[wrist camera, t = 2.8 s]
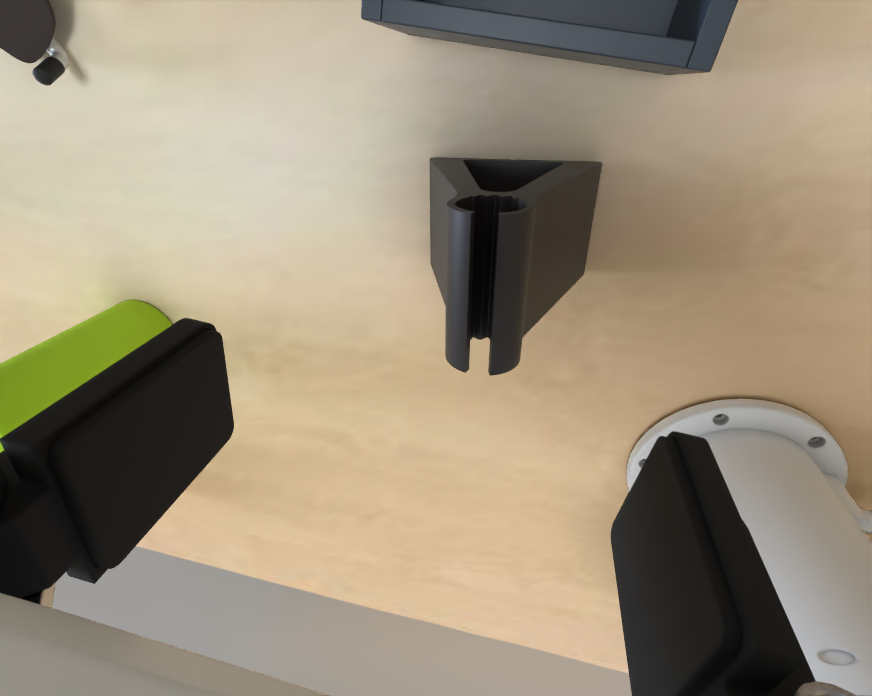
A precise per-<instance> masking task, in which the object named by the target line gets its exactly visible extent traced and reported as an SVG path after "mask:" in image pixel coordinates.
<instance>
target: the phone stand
mask: <svg viewBox="0 0 872 696" xmlns="http://www.w3.org/2000/svg"><path fill="white" fill-rule="evenodd" d="M601 166H602V163H601V162H583V161H545V160H508V159H470V158H430V237H431V266H432V269H433V271H434V274H435V277H436V280H437V283H438V286H439V289H440V291H441V294H442V297H443V300H444V303H445V306H446V350H445V356H446V359H447V361H448V362H449V364H450V365H452V366H453V367H454V368H456V369H458V370H460V371H462V372H465V373H466V372H467V371H468V369H469V353H470V340H471V339H472V338H473V337H474V338H477V339H480V340H481V339H484V338H486V337H488V338H489V339H490V353H489V369H488V372H489V375H498V374H502V373H505V372H508V371H510V370H512V369H513V368H515V367H516V366H517V365H518V363H519V361H520V355H521V345H522V338H523V337H524V335H525V334H526V333H527V332H528V331H529V330H530V329H531V328H532V327H533V326H534V325H535V324H536V323H537V322H538V321H539V320H540V319H541V318H542V317H543V316H544V315H545V314H546V313H547V312H548V311H549V310H550V309H551V308H552V307H553V305H554V304H555V303H556V302H557V301H558V300H559V299H560V298H561V297H562V296H563V295H564V294H565V293H566V292H567V291H568V290H569V289H570V288H571V287H572V286H573V285H574V284H575V283H576V282H577V281H578V280H579V279H580V278H581V277H582V276H583V275H584V269H585V263H586V257H587V251H588V245H589V239H590V233H591V227H592V221H593V215H594V209H595V203H596V197H597V190H598V184H599V178H600V172H601Z"/></svg>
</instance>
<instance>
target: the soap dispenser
mask: <svg viewBox="0 0 872 696" xmlns="http://www.w3.org/2000/svg"><path fill="white" fill-rule="evenodd" d="M170 326H172V323H171V322H170V321H169V319H168V318H167V317H166V316H165V315H164V314H163V313H161V312H160V311H159V310H158V309H156V308H155V307H153V306H151V305H149V304H147V303H145V302H142V301H137V300H127V301H124V302H121V303H119V304H117V305H115V306H113V307H111V308H109V309H107V310H105V311H103V312H102V313H100V314H98V315H96V316H94V317H92V318H90V319H88V320H86V321H84V322H82V323H80V324H78V325H76V326H74V327H72V328H70V329H68V330H66V331H64V332H62V333H60V334H58V335H56V336H54V337H52V338H50V339H48V340H46V341H44V342H42V343H40V344H38V345H36V346H34V347H32V348H30V349H28V350H26V351H24V352H22V353H21V354H19V355H17V356H15V357H13V358H11V359H9V360H7V361H5V362H3V363H1V364H0V438H2V437H3V436H5V435H6V434H8V433H9V432H11V431H12V430H14V429H15V428H17V427H19V426H20V425H22V424H23V423H25V422H26V421H28V420H29V419H31V418H32V417H34V416H35V415H37V414H38V413H40V412H41V411H43V410H44V409H46V408H47V407H49V406H50V405H52V404H53V403H55V402H56V401H58V400H59V399H61V398H62V397H64V396H65V395H67V394H69V393H70V392H72V391H73V390H75V389H76V388H78V387H79V386H81V385H82V384H84V383H85V382H87V381H88V380H90V379H91V378H93V377H94V376H96V375H97V374H99V373H100V372H102V371H103V370H105V369H106V368H108V367H109V366H111V365H112V364H114V363H116V362H117V361H119V360H120V359H122V358H123V357H125V356H126V355H128V354H129V353H131V352H132V351H134V350H135V349H137V348H138V347H140V346H141V345H143V344H144V343H146V342H147V341H149V340H150V339H152V338H153V337H155V336H156V335H158V334H159V333H161V332H162V331H164V330H166V329H167V328H169V327H170ZM2 451H4V448H3V446H2V444H1V442H0V453H1V452H2Z"/></svg>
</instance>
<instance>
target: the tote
mask: <svg viewBox="0 0 872 696" xmlns="http://www.w3.org/2000/svg"><path fill="white" fill-rule="evenodd" d="M737 2H738V0H362V10H361V18H362V19H363V20H366V21H369V22H372V23H375V24H378V25H381V26H384V27H387V28H390V29H393V30H396V31H399V32H402V33H405V34H408V35H414V36H420V37H427V38H433V39H440V40H446V41H452V42H459V43H465V44H472V45H478V46H485V47H491V48H498V49H504V50H511V51H517V52H524V53H530V54H536V55H543V56H549V57H556V58H562V59H569V60H575V61H582V62H588V63H595V64H601V65H608V66H614V67H620V68H627V69H633V70H640V71H646V72H653V73H659V74H666V75H674V74H688V73H702V72H710V71H711V69H712V66H713V64H714V61H715V59H716V56H717V54H718V51H719V48H720V46H721V43H722V41H723V38H724V35H725V33H726V30H727V28H728V25H729V23H730V20H731V17H732V15H733V12H734V10H735V7H736V5H737Z"/></svg>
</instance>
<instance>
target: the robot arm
mask: <svg viewBox="0 0 872 696" xmlns="http://www.w3.org/2000/svg"><path fill="white" fill-rule="evenodd" d="M233 429H234V421H233V414H232V406H231V399H230V392H229V385H228V377H227V370H226V363H225V355H224V348H223V341H222V336H221V334H220V333H218V332H217V331H216V328H215V327H214V325H212V324H210V323H206V322H202V321H197V320H193V319H189V318H183V319H181V320H179V321H178V322H176V323H175V324H173V325H172V326H170V327H169V328H167V329H166V330H164V331H162V332H161V333H159V334H158V335H156V336H155V337H153V338H152V339H150V340H149V341H147V342H146V343H144V344H143V345H141V346H140V347H138V348H137V349H135V350H134V351H132V352H131V353H129V354H128V355H126V356H125V357H123V358H122V359H120V360H119V361H117V362H116V363H114V364H112V365H111V366H109V367H108V368H106V369H105V370H103V371H102V372H100V373H99V374H97V375H96V376H94V377H93V378H91V379H90V380H88V381H87V382H85V383H84V384H82V385H81V386H79V387H78V388H76V389H75V390H73V391H72V392H70V393H69V394H67V395H65V396H64V397H62V398H61V399H59V400H58V401H56V402H55V403H53V404H52V405H50V406H49V407H47V408H46V409H44V410H43V411H41V412H40V413H38V414H37V415H35V416H34V417H32V418H31V419H29V420H28V421H26V422H25V423H23V424H22V425H20V426H19V427H17V428H15V429H14V430H12V431H11V432H9V433H8V434H6V435H5V436H3V437H2V438H0V442H1V444H2V446H3V448H4V451H2V452H1V453H0V696H329V695H326V694H323V693H320V692H317V691H314V690H311V689H308V688H304V687H301V686H298V685H295V684H292V683H289V682H285V681H282V680H279V679H276V678H273V677H270V676H266V675H264V674H260V673H257V672H254V671H251V670H248V669H245V668H241V667H238V666H235V665H232V664H229V663H226V662H223V661H219V660H216V659H213V658H210V657H206V656H204V655H200V654H197V653H194V652H191V651H188V650H185V649H181V648H178V647H175V646H172V645H168V644H165V643H162V642H159V641H156V640H153V639H149V638H146V637H143V636H140V635H137V634H133V633H130V632H127V631H124V630H120V629H117V628H114V627H111V626H107V625H105V624H101V623H98V622H95V621H91V620H89V619H85V618H82V617H78V616H76V615H72V614H69V613H66V612H63V611H60V610H56V609H53V608H52V604H53V597H54V590H55V583H56V581H57V580H58V579H59V578H60V577H61V576H62V575H63V574H64V573H65V572H67V574H68V575H69V576H71V577H74V578H78V579H80V580H84V581H87V582H90V583H93V584H95V583H96V582H97V581H98V579H99V578H100V577H101V576H102V575H103V574H104V573H105V572H106V570H107V569H111V568H114V567H115V566H117V565H119V564H120V563H121V562H122V561H123V560H124V559H125V557H126V556H127V555H128V554H129V553H130V552H131V550H132V549H133V548H134V547H135V546H136V545H137V544H138V543H139V542H140V540H141V539H142V538H143V537H144V536H145V535H146V534H147V532H148V531H149V530H150V529H151V528H152V527H153V526H154V524H155V523H156V522H157V521H158V520H159V519H160V518H161V517H162V515H163V514H164V513H165V512H166V511H167V510H168V509H169V507H170V506H171V505H172V504H173V503H174V502H175V501H176V499H177V498H178V497H179V496H180V495H181V494H182V493H183V492H184V490H185V489H186V488H187V487H188V486H189V485H190V484H191V482H192V481H193V480H194V479H195V478H196V477H197V476H198V474H199V473H200V472H201V471H202V470H203V469H204V468H205V466H206V465H207V464H208V463H209V462H210V461H211V460H212V459H213V457H214V456H215V455H216V454H217V453H218V452H219V451H220V449H221V448H222V447H223V446H224V445H225V444H226V443H227V441H228V440H229V439H230V437H231V435H232V433H233ZM847 480H848V465H847V462H846V459H845V456H844V453H843V450H842V449H841V448H840V446H839V445H838V443H837V442H836V441H835V439H834V438H833V437H832V435H831V434H830V433H829V432H828V431H827V430H826V429H825V428H824V427H823V426H822V425H821V424H820V423H819V422H818V421H816V420H815V419H813V418H812V417H810V416H809V415H807V414H806V413H804V412H801V411H799V410H797V409H794V408H792V407H789V406H787V405H783V404H779V403H775V402H770V401H766V400H755V399H726V400H717V401H712V402H707V403H702V404H698V405H695V406H692V407H689V408H686V409H683V410H680V411H678V412H676V413H674V414H672V415H670V416H669V417H667V418H665V419H663V420H661V421H660V422H659V423H657V424H656V425H655V426H653V427H652V428H651V429H649V430H648V431H647V432H646V433H645V434H644V435H643V437H642V438H641V439H640V440H639V441H638V442H637V444H636V445H635V447H634V449H633V451H632V452H631V454H630V457H629V461H628V464H627V484H628V489H629V493H628V495H627V497H626V499H625V501H624V503H623V505H622V507H621V509H620V511H619V512H618V514H617V516H616V518H615V520H614V522H613V525H612V530H611V544H612V551H613V559H614V566H615V573H616V581H617V588H618V595H619V603H620V610H621V618H622V625H623V632H624V640H625V647H626V654H627V662H628V669H629V677H630V684H631V691H632V696H872V539H868V538H867V537H866V535H865V534H864V532H863V531H865V532H866V533H868V534H872V511H869V510H867V511H866V510H862V509H860V508H859V507H858V505H857V504H856V502H855V501H854V500H853V498H852V497H851V495H850V494H849V493H848V491H847V490H846V489H845V487H846V483H847Z"/></svg>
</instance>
